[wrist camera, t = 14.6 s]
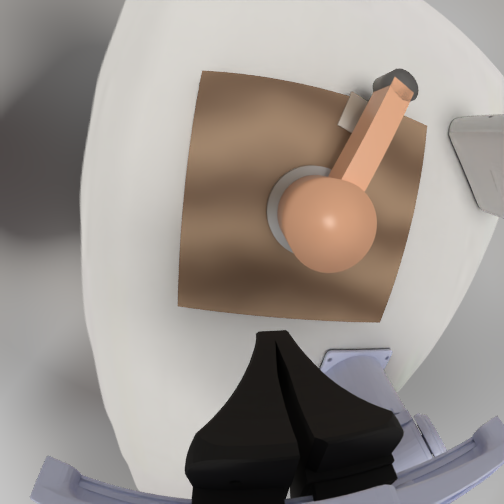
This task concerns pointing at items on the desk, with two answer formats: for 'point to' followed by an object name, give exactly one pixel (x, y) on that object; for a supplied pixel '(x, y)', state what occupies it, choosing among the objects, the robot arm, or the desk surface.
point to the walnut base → (269, 194)
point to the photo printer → (482, 158)
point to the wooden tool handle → (346, 186)
